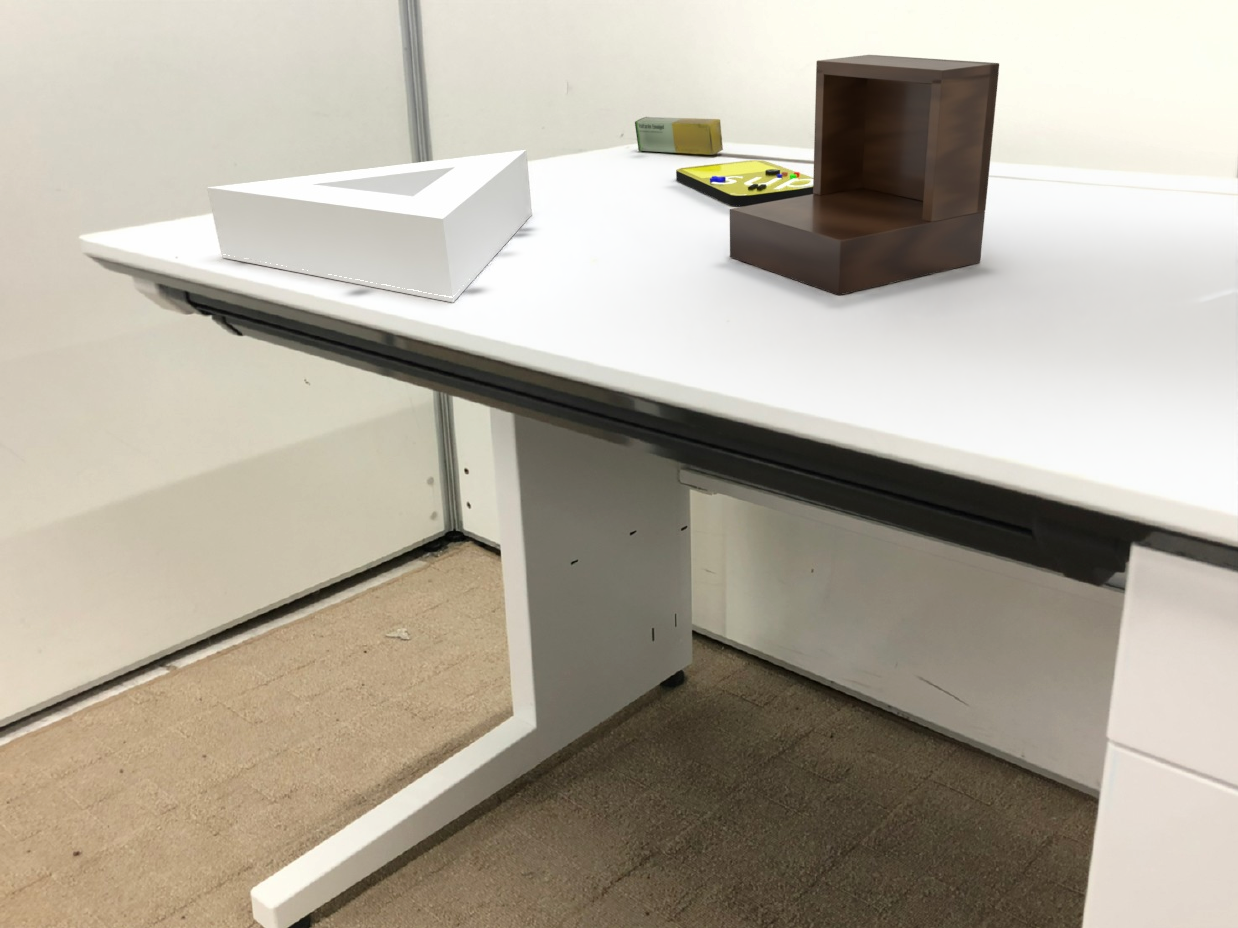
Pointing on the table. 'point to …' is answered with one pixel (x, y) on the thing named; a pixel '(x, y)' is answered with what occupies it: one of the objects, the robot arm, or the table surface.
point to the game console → (746, 182)
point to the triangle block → (381, 222)
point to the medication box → (679, 135)
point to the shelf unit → (883, 176)
